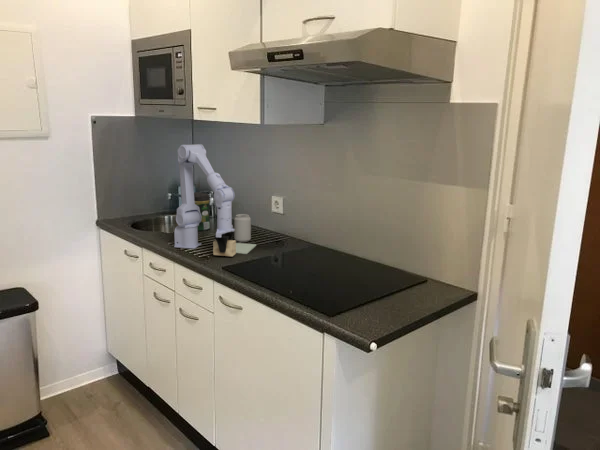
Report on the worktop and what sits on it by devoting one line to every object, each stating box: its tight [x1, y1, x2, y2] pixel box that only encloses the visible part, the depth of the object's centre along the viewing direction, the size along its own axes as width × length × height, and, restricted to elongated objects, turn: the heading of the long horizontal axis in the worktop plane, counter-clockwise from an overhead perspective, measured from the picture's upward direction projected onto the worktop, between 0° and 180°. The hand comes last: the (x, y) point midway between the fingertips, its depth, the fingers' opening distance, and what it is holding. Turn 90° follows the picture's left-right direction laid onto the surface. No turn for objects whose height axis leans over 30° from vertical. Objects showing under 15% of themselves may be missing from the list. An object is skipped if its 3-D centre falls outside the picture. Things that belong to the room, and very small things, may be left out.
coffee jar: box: [190, 191, 211, 232], centre depth 241 cm, size 10×8×19 cm
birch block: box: [212, 239, 237, 257], centre depth 196 cm, size 8×4×6 cm, turn 79°
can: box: [233, 213, 252, 243], centre depth 221 cm, size 8×8×12 cm
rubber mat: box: [236, 242, 257, 255], centre depth 209 cm, size 15×14×1 cm
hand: (224, 250), depth 196 cm, fingers closed on birch block, 4 cm apart
